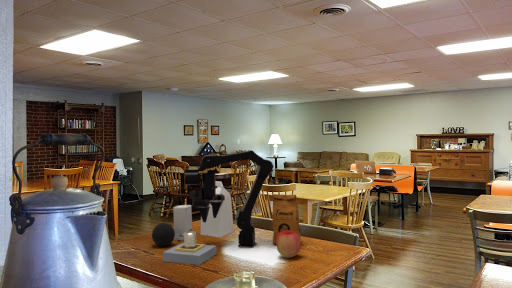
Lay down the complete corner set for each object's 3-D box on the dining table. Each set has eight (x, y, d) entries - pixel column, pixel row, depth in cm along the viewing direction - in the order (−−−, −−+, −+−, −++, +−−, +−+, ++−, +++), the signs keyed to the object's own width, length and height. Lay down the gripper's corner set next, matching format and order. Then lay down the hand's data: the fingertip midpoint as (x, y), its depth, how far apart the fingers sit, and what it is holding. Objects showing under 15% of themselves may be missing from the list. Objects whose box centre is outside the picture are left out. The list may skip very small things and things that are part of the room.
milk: (233, 232, 192) (232, 180, 192) (219, 237, 182) (218, 183, 182) (214, 229, 199) (213, 179, 198) (200, 234, 189) (199, 182, 189)
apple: (272, 255, 152) (272, 230, 152) (294, 252, 155) (293, 227, 155) (282, 262, 143) (282, 235, 143) (305, 258, 146) (304, 233, 146)
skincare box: (186, 241, 177) (185, 207, 177) (173, 240, 178) (172, 207, 178) (193, 236, 185) (192, 204, 185) (180, 236, 186) (179, 204, 186)
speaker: (170, 241, 177) (169, 220, 177) (178, 246, 169) (177, 223, 168) (149, 245, 172) (148, 223, 172) (156, 250, 163) (155, 227, 163)
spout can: (198, 254, 153) (198, 231, 153) (192, 257, 148) (192, 234, 148) (183, 252, 155) (183, 230, 155) (177, 255, 151) (176, 233, 151)
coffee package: (297, 248, 161) (296, 196, 161) (270, 245, 166) (268, 195, 165) (303, 242, 170) (302, 193, 170) (277, 240, 175) (275, 192, 175)
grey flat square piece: (216, 254, 155) (216, 243, 155) (199, 265, 142) (199, 253, 142) (182, 251, 161) (182, 240, 161) (163, 261, 148) (162, 249, 148)
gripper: (203, 181, 176) (203, 215, 176) (181, 186, 159) (182, 223, 159) (224, 181, 172) (225, 216, 172) (204, 186, 155) (205, 225, 155)
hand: (209, 220), depth 165 cm, fingers open, 9 cm apart
